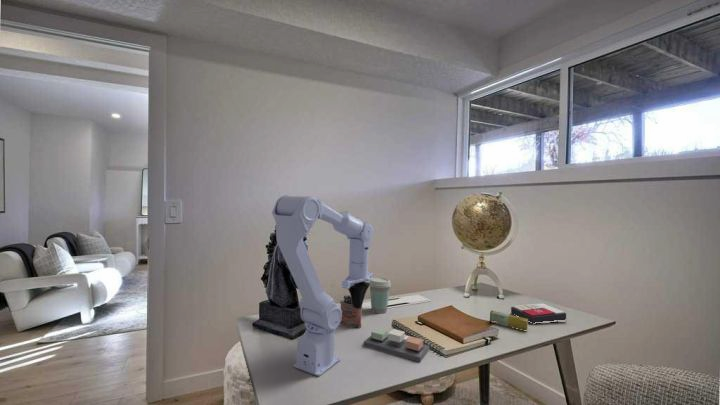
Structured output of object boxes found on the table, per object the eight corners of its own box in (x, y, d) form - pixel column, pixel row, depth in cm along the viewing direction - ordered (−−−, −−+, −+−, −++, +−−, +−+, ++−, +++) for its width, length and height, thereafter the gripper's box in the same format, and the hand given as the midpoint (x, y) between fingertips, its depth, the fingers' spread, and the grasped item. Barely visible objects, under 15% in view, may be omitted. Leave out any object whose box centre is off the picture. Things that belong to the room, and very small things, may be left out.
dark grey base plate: (420, 362, 81) (420, 357, 81) (363, 345, 89) (363, 340, 89) (429, 350, 88) (429, 345, 88) (376, 335, 96) (376, 331, 96)
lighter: (337, 324, 104) (338, 294, 104) (342, 320, 107) (343, 292, 107) (358, 329, 100) (359, 298, 100) (363, 325, 103) (364, 296, 103)
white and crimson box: (510, 305, 120) (542, 301, 123) (510, 316, 120) (542, 312, 123) (532, 315, 109) (566, 311, 113) (532, 327, 109) (566, 322, 113)
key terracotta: (418, 351, 83) (418, 344, 83) (406, 347, 85) (406, 341, 85) (422, 345, 86) (423, 339, 86) (410, 342, 88) (410, 336, 88)
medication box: (489, 323, 110) (489, 312, 110) (491, 320, 112) (491, 309, 112) (526, 332, 103) (527, 320, 103) (528, 330, 105) (528, 318, 105)
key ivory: (399, 342, 86) (400, 336, 86) (388, 339, 88) (388, 333, 88) (404, 337, 89) (404, 331, 89) (393, 334, 91) (393, 328, 91)
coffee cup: (391, 315, 114) (392, 283, 114) (368, 314, 114) (369, 282, 114) (389, 307, 123) (390, 277, 123) (367, 306, 123) (368, 276, 123)
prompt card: (415, 344, 91) (415, 342, 91) (391, 337, 95) (391, 335, 95) (419, 340, 94) (419, 338, 94) (395, 333, 98) (395, 331, 98)
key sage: (382, 340, 89) (382, 334, 89) (371, 337, 90) (371, 331, 90) (387, 336, 92) (387, 330, 92) (376, 333, 94) (376, 327, 94)
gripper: (358, 267, 83) (356, 317, 83) (381, 259, 95) (380, 303, 95) (336, 264, 86) (335, 312, 86) (361, 257, 99) (360, 299, 99)
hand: (357, 307), depth 91 cm, fingers closed
